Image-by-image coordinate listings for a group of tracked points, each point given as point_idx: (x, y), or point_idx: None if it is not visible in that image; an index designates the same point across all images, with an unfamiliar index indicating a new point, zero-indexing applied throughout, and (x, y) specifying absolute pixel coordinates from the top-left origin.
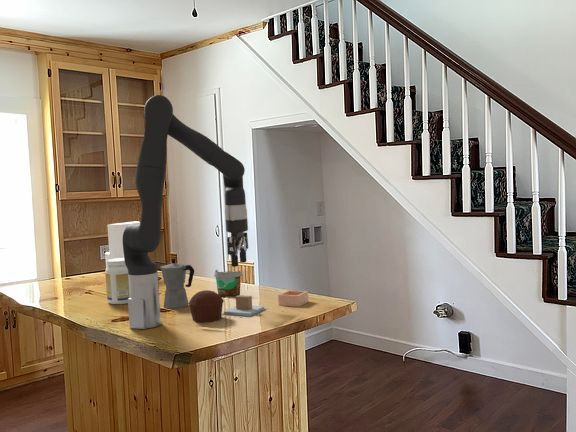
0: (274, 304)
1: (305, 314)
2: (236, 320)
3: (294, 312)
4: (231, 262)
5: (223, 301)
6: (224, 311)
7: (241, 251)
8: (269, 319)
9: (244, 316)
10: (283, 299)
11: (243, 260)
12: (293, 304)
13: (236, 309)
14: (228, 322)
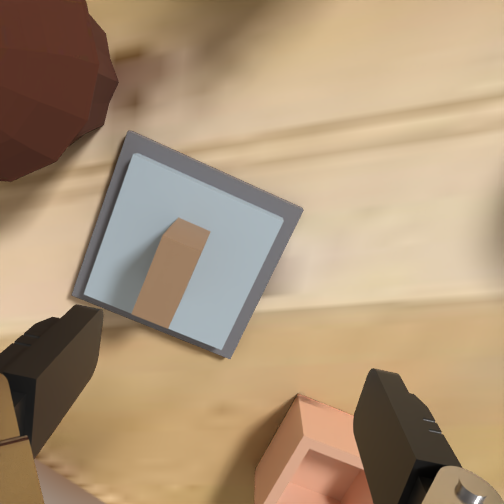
0: (366, 372)
1: (154, 489)
2: (65, 226)
3: (193, 453)
4: (57, 322)
5: (7, 178)
6: (132, 157)
7: (415, 494)
8: None
9: (87, 264)
10: (288, 441)
11: (362, 414)
12: (266, 463)
13: (171, 219)
14: (28, 192)
